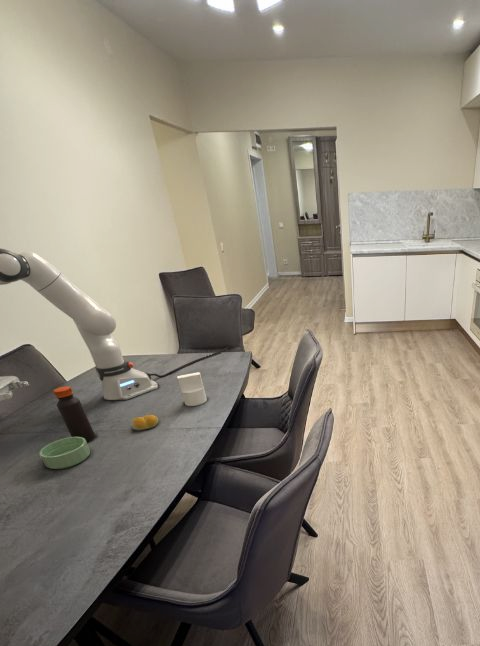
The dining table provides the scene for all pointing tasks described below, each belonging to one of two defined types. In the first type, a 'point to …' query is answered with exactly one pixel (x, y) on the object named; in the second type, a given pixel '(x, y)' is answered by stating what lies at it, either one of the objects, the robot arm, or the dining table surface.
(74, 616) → the dining table surface
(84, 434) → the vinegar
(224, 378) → the dining table surface
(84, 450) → the bowl
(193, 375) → the cylinder with rectangular tab
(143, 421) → the bread roll
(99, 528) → the dining table surface
